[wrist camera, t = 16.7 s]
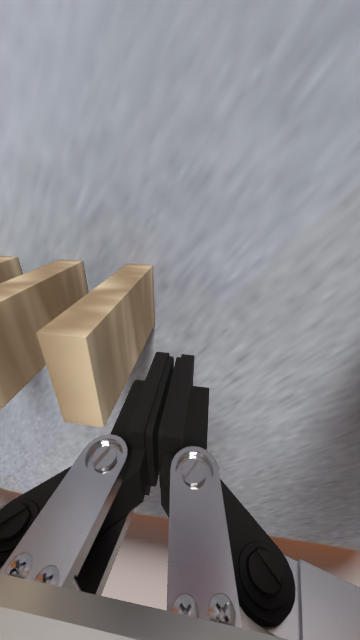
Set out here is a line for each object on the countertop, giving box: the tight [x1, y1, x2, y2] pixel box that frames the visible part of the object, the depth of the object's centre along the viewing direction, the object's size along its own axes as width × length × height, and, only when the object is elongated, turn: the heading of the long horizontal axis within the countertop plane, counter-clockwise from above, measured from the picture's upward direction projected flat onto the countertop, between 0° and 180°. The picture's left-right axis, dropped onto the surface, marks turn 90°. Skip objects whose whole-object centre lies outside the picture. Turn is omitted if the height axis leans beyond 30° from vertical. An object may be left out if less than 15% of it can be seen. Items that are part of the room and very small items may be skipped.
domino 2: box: [36, 264, 155, 428], centre depth 14 cm, size 2×5×10 cm, turn 179°
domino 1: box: [0, 260, 88, 410], centre depth 15 cm, size 2×5×10 cm, turn 178°
